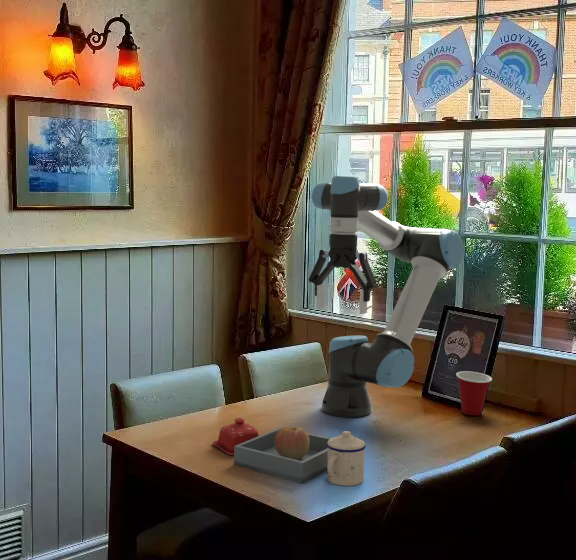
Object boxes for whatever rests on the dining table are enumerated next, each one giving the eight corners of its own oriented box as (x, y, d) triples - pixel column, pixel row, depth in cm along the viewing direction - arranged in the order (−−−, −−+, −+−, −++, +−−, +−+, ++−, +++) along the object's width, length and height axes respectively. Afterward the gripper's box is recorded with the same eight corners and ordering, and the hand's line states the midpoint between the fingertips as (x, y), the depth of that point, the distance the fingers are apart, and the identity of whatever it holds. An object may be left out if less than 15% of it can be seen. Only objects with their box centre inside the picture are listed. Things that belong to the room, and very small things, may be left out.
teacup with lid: (338, 470, 199) (339, 423, 197) (371, 478, 193) (373, 430, 192) (311, 484, 189) (312, 435, 187) (345, 493, 184) (347, 443, 182)
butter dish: (269, 452, 211) (270, 420, 210) (230, 460, 205) (230, 427, 204) (247, 440, 221) (248, 409, 220) (209, 447, 215) (209, 415, 214)
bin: (233, 465, 200) (234, 446, 200) (280, 445, 217) (280, 427, 216) (302, 484, 189) (302, 463, 188) (345, 460, 205) (346, 441, 205)
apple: (283, 466, 197) (283, 434, 196) (268, 455, 205) (269, 424, 204) (315, 462, 201) (316, 430, 200) (299, 451, 209) (300, 420, 208)
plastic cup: (479, 420, 244) (481, 381, 242) (447, 413, 251) (449, 374, 250) (496, 413, 252) (498, 375, 251) (465, 406, 259) (467, 369, 258)
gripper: (297, 231, 225) (295, 307, 227) (377, 236, 211) (375, 317, 213) (312, 230, 231) (310, 304, 233) (391, 235, 217) (388, 313, 220)
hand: (341, 310), depth 223 cm, fingers open, 13 cm apart
